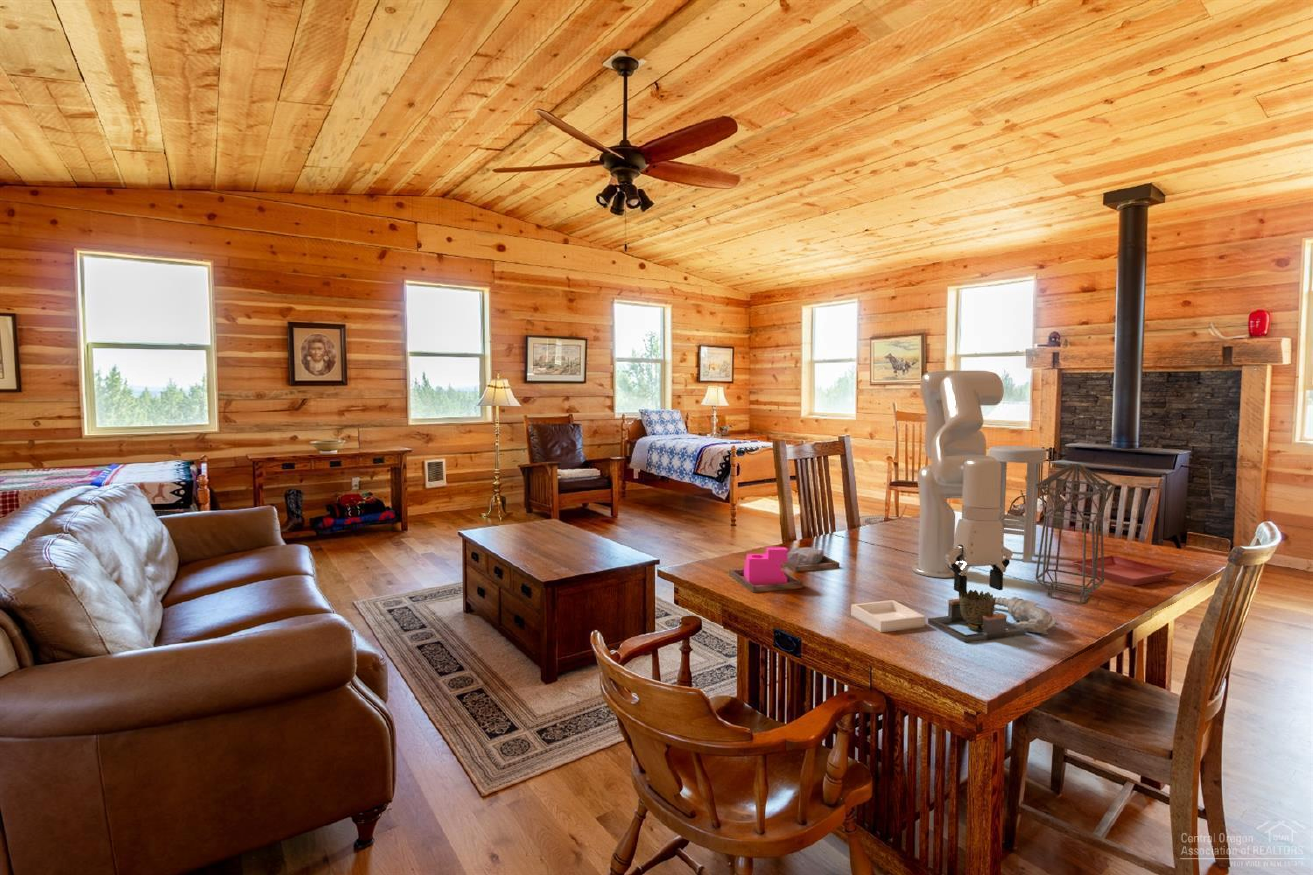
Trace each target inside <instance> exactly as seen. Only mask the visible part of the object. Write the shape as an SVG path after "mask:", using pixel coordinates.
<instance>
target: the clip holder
mask: <svg viewBox="0 0 1313 875" xmlns="http://www.w3.org/2000/svg"><path fill="white" fill-rule="evenodd" d="M947 603H948V606H947V608H948V609H947V616H946V615H945V616H937V617H928V618H927V624H928V625H930V626H932V627H934V628H936V629H938V630H940V631H942V632H944V633H945V634H948V635H950V636H951V637H953V638H955V639H957V640H959V641H961V642H963V643H965V644H968V643H977V642H984V641H992V640H997V639H1006V638H1013V637H1020V636H1022V637H1023V636H1026V635H1027V631H1026V629H1024V628H1021V627H1019V626H1017V625H1015V624H1012V623H1013V622H1010V621H1008V620H1007V618H1008V615H1007V614H1005V613H1002V612H1000V613H993V614H991V615H983V631H982V632H978V633H970V634H964V633H962V632H960V631H958V630H957V629H955V628H953V627H951V626H949V625H947V624H952V623H961V622H967V621H966V620H965V619H964V618H963V617H962V615H961V611H960V602H959V598H953V599H948V600H947Z"/></svg>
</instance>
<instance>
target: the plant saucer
mask: <svg viewBox="0 0 1313 875" xmlns="http://www.w3.org/2000/svg"><path fill="white" fill-rule="evenodd" d="M1071 563H1072V564H1073V566H1074V567H1075V568H1076V569H1077V571H1079V572H1080V573H1081V574H1083V559H1081V560H1074V561H1073V560H1072V561H1071ZM1175 573H1176V570H1173V569H1170V568H1165V567H1161V566H1157V565H1154V564H1153V565H1152V564H1150V563H1145V562H1141V561H1138V560H1137V561H1136V560H1133V559H1128V558H1125V557H1120V556H1116V555H1104V580H1108V581H1112V582H1116V583H1118V584H1123V585H1127V586H1130V587H1135V586H1140V585H1144V584H1150V583H1156V582H1161V581H1166V580H1167V579H1168V578H1170V577H1171V576H1172V575H1174V574H1175ZM1085 575H1090V576H1092V558H1087V559H1086V561H1085ZM1096 577H1098V578H1100V579H1102V569H1101V556H1098V560H1097V576H1096ZM1166 577H1167V578H1166Z"/></svg>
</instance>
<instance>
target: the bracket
mask: <svg viewBox="0 0 1313 875" xmlns="http://www.w3.org/2000/svg"><path fill="white" fill-rule="evenodd" d="M765 550H766V551H765V553H747V554H746V558H745V562H744V563H745V564H744V566H743V567H744V568H743V569H744V574H743V576H744V579H746V580H747V581H749V582H750V583H751V584H753V585H754V586H758V585H768V584H779V583H788V580H787V577H786V575H785V574H784V572H785V571H784V570H783V569H782V564H781V562H787V556H788V551H789V550H788V548H787V547H783V546H779V547H778V546H777V547H776V546H775V547H774V546H773V547H768V546H767V547H766V549H765ZM783 571H784V572H783Z"/></svg>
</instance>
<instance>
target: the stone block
mask: <svg viewBox="0 0 1313 875" xmlns="http://www.w3.org/2000/svg"><path fill="white" fill-rule="evenodd" d="M823 556H825V555H824V549H818V548H814V547H808V546H805V547H797V548H794V549H791V550H790V552H789V553H788V556H787V561H789V562H791V563H792V564H794V565H796V566H801V565H813V564H820V562H823V561H822V560H823Z"/></svg>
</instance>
